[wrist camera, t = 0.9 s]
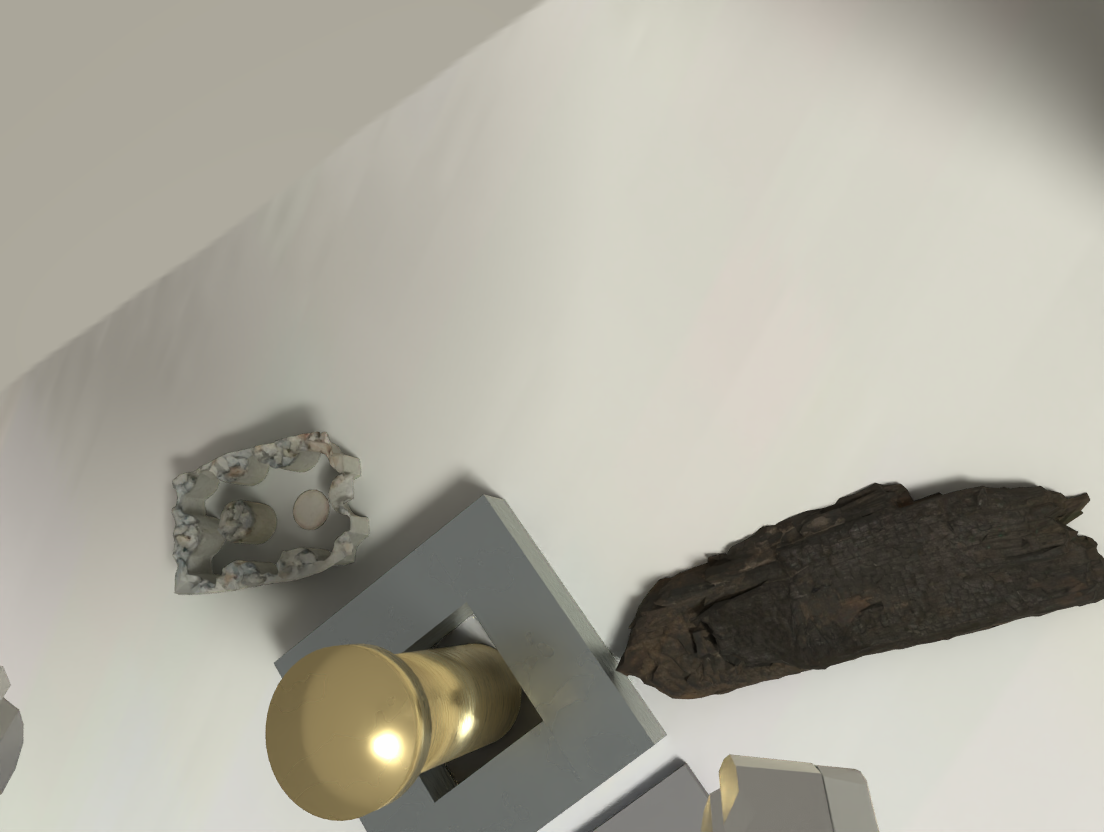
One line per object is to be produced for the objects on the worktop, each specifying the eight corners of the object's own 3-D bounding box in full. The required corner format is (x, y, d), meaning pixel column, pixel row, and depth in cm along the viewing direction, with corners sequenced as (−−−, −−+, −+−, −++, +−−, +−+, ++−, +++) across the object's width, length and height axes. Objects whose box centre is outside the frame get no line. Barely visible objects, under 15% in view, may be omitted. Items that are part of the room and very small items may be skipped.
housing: (504, 500, 49) (483, 494, 46) (666, 734, 44) (654, 744, 42) (305, 659, 51) (273, 662, 48) (442, 900, 46) (415, 920, 43)
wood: (1060, 432, 42) (1075, 420, 39) (1125, 596, 40) (1146, 595, 37) (597, 562, 47) (581, 560, 45) (635, 712, 45) (621, 720, 43)
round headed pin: (488, 606, 48) (359, 612, 35) (556, 711, 46) (445, 756, 33) (397, 678, 49) (238, 708, 36) (460, 784, 47) (316, 855, 34)
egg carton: (366, 436, 52) (328, 423, 48) (379, 571, 51) (341, 569, 47) (203, 470, 55) (154, 460, 51) (209, 599, 53) (160, 600, 50)
